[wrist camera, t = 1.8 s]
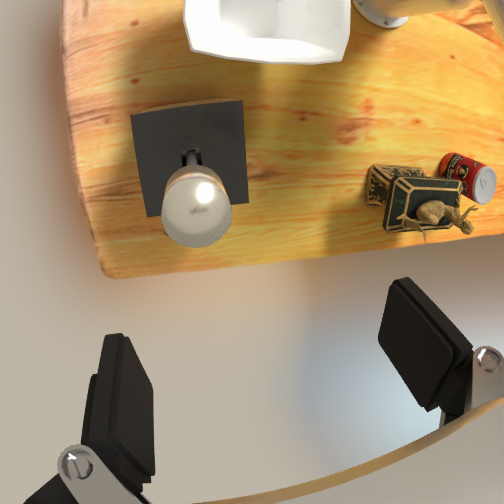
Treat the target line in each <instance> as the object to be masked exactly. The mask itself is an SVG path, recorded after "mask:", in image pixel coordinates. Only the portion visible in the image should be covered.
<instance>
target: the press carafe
mask: <svg viewBox="0 0 504 504" xmlns="http://www.w3.org/2000/svg"><path fill="white" fill-rule="evenodd" d="M130 116H131V124H132V131H133V138H134V145H135V151H136V158H137V164H138V170H139V176H140V181H141V187H142V192H143V198H144V203H145V208H146V213H147V217H153V216H159V215H161V212H162V206H163V200H164V195H165V189H166V185H167V182H168V180H169V179H170V177H171V176H172V175H173V174H174V173H175V172H176V171H177V170H179V169H181V168H183V164H182V156H181V151H186V150H193V149H200V152H201V161H202V166H205V167H208V168H210V169H211V170H213V171H214V172H215V173H216V174H217V175H218V176H219V177H220V179H221V181H222V183H223V186H224V188H225V191H226V194H227V196H228V199H229V201H230V204H231V205H235V204H243V203H249V197H248V181H247V166H246V151H245V136H244V121H243V105H242V100H237V99H230V98H214V99H205V100H196V101H188V102H181V103H174V104H167V105H161V106H155V107H149V108H147V109H144V110H142V111H139V112H137V113H135V114H132V115H130Z"/></svg>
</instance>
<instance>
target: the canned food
mask: <svg viewBox="0 0 504 504" xmlns="http://www.w3.org/2000/svg"><path fill="white" fill-rule="evenodd" d="M439 174H440V178H449V179H458V180H460V181H461V183H462V191H461V194H462V195H464V196H466V197H468V198H469V199H471V200H473V201H475V202H476V203H478V204H481V205H484V204H486V203H488V202H489V201H490V200H491V198H492V197H493V195H494V192H495V189H496V182H497V180H496V174H495V172H494V170H493V169H492V168H490V167H489V166H486V165H484V164H482V163H480V162H477V161H475V160H473V159H470V158H468V157H465V156H463V155H460V154H458V153H448V154H447V155H445V157H444V158H443V159H442V161H441V164H440V169H439Z"/></svg>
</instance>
